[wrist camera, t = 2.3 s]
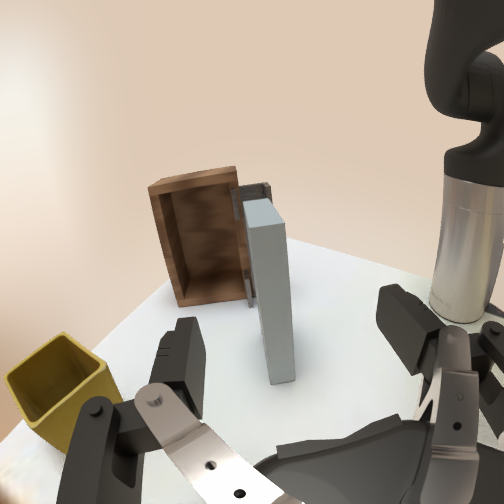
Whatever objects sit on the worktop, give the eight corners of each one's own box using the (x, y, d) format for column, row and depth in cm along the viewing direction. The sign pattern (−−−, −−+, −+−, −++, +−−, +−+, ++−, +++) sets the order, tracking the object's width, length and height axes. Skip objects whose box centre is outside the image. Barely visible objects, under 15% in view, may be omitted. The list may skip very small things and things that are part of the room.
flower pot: (100, 389, 25) (62, 328, 21) (151, 425, 21) (108, 362, 17) (52, 433, 18) (1, 375, 14) (95, 483, 14) (30, 430, 10)
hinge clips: (278, 291, 40) (267, 182, 34) (282, 302, 37) (270, 186, 31) (247, 295, 40) (230, 187, 34) (249, 307, 37) (230, 191, 31)
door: (281, 331, 32) (268, 198, 26) (294, 380, 25) (284, 222, 18) (261, 334, 32) (242, 201, 26) (270, 384, 25) (249, 227, 18)
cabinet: (250, 272, 47) (235, 165, 40) (254, 297, 40) (236, 171, 33) (185, 281, 47) (162, 178, 40) (178, 307, 39) (147, 187, 32)
